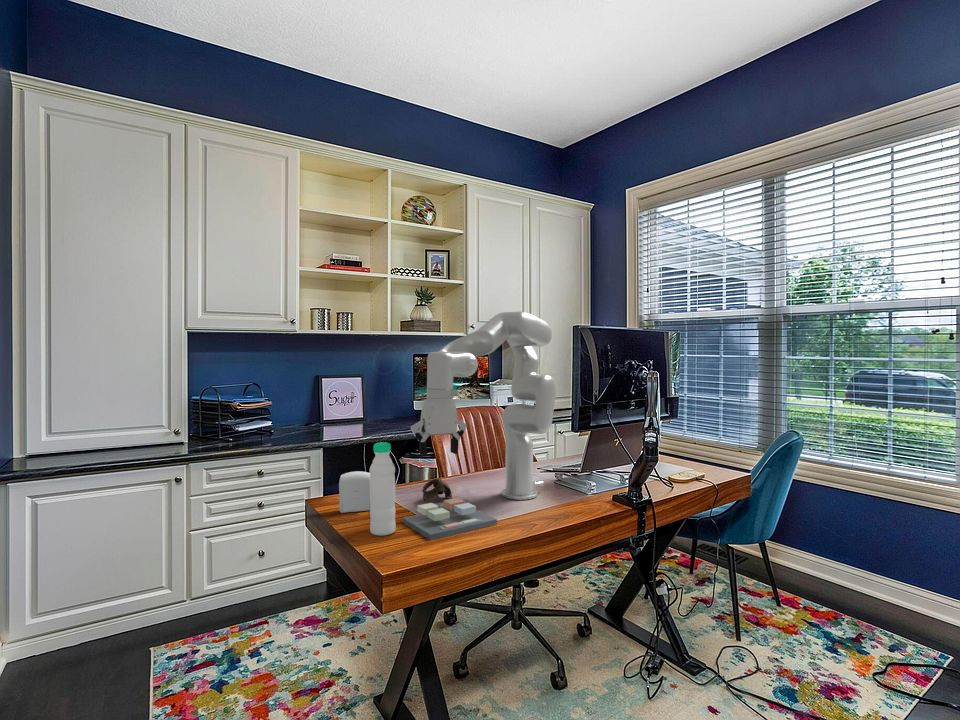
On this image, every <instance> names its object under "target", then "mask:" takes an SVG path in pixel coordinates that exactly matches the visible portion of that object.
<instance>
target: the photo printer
mask: <svg viewBox="0 0 960 720" xmlns="http://www.w3.org/2000/svg"><path fill="white" fill-rule="evenodd" d="M338 491H339V493H338V494H339V495H338V497H339V512H340V513H341V514H342V513H343V514H345V513H355V512H364V511H370V508H371V505H370V472H367V471H362V470H361V471H360V470H359V471H358V470H355V471H350V472H345V473H342V474H341V475H340V477H339V483H338Z"/></svg>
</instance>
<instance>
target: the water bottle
mask: <svg viewBox="0 0 960 720" xmlns="http://www.w3.org/2000/svg"><path fill="white" fill-rule="evenodd" d="M391 450H392V446H391V443H390V442H384V441H383V442H376V443H374V444H373V453H374V455H375V456H374V457H373V459H372V463H371V465H370V467H369V473H370V505H371V508H370V510H369V517H370V520H369V521H370V522H369V524H370V525H369V531H370V534H371V535H374V536H376V537H377V536H379V537H384V536H385V537H386V536H389V535H390V536H391V535H392V534H393V533H395V532H396V529H397V527H396V526H397V525H396V505H395V504H396V477H395V473H396V467H395V464H394V463H393V460H392V458H391V455H390V453H391Z"/></svg>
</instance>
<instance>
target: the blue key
mask: <svg viewBox="0 0 960 720" xmlns="http://www.w3.org/2000/svg"><path fill="white" fill-rule="evenodd" d="M476 510H477V506H476V505H474V504H472V503H470V502H465V503H464V504H459V505H454V512H456V513H458V514H461V515H466V514H471V513H475V512H476Z"/></svg>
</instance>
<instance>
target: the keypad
mask: <svg viewBox="0 0 960 720" xmlns="http://www.w3.org/2000/svg"><path fill="white" fill-rule="evenodd" d="M444 509H445V510H447V511H449V512H450V518H448V519H443V520H438V521H434V520H432V519H430V518H428V517H427V515H423V514H421V513H419V514H415V515H410V516H404V517H402V524H404V525H406V526H407V527H409V528H411V529H412V530H413V531H415V532H417V533H418V534H419V535H422V536H423V537H425V538H427V539H428V540H429V541H433V540H437V539H441V538H442V539H443V538H446V537H449V536H450V537H451V536H454V535H459V534H462V533H467V532H471V531H475V530H480V529H484V528H488V527H492V526H496V525H497V524H498V518H495V517H494V516H490V515H489V514H486V513H484V512H482V511H480V510H478V509H476V512H475V513H471V514H466V515H461V514H458V513H456V512H454V509H453V510H450V509H448V508H444Z"/></svg>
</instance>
